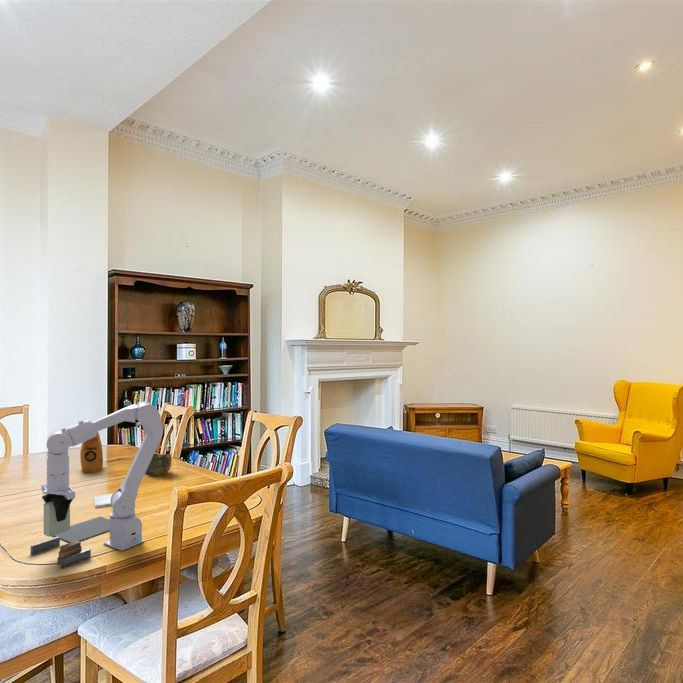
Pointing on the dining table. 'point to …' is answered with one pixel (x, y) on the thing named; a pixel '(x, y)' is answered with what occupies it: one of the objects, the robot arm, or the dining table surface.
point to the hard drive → (102, 500)
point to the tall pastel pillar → (54, 521)
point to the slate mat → (85, 530)
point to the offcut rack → (64, 561)
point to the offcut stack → (69, 550)
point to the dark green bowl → (159, 465)
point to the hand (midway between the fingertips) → (57, 519)
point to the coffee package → (91, 455)
